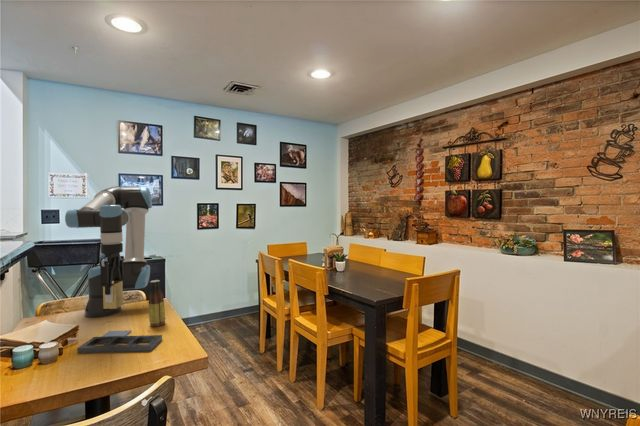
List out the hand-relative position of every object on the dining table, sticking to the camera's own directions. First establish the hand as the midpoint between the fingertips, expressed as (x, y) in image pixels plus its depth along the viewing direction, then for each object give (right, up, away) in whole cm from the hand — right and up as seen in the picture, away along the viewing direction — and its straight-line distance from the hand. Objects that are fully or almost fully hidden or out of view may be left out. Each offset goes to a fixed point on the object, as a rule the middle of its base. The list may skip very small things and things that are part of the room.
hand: (113, 300), depth 137 cm
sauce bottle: (+11, -15, +13) cm, 23 cm away
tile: (0, -15, +1) cm, 15 cm away
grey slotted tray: (+9, -15, -9) cm, 20 cm away
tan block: (0, -3, 0) cm, 3 cm away
